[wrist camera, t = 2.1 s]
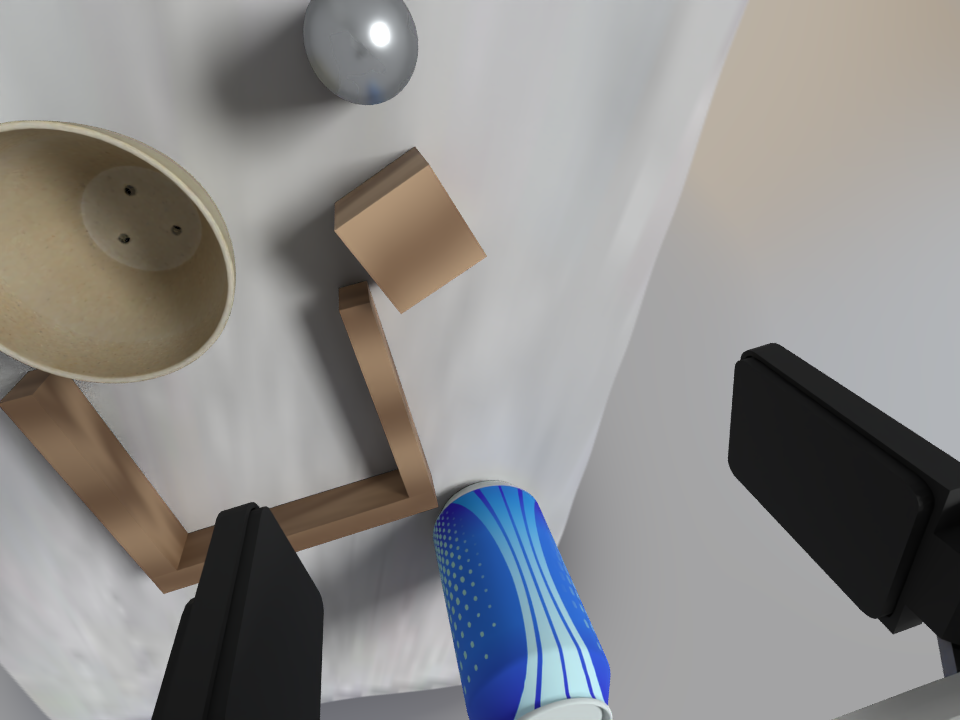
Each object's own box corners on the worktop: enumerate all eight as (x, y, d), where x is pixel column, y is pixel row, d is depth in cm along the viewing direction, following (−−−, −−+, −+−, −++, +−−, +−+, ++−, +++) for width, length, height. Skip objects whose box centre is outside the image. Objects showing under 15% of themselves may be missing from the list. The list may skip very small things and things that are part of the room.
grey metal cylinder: (296, 0, 22) (285, -14, 17) (387, -19, 23) (401, -38, 18) (328, 102, 25) (326, 115, 20) (410, 83, 25) (429, 91, 20)
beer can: (440, 472, 38) (496, 704, 24) (546, 472, 40) (651, 682, 27) (422, 553, 42) (463, 792, 28) (520, 548, 44) (601, 766, 31)
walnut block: (334, 202, 27) (334, 230, 23) (414, 146, 27) (429, 164, 22) (392, 276, 30) (401, 314, 25) (465, 226, 29) (487, 256, 25)
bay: (28, 371, 28) (-3, 403, 25) (366, 280, 29) (369, 302, 27) (175, 555, 36) (163, 593, 33) (431, 476, 38) (438, 506, 35)
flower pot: (178, 67, 23) (122, 73, 17) (293, 269, 28) (282, 329, 22) (-42, 151, 22) (-181, 189, 16) (117, 339, 28) (57, 419, 22)
